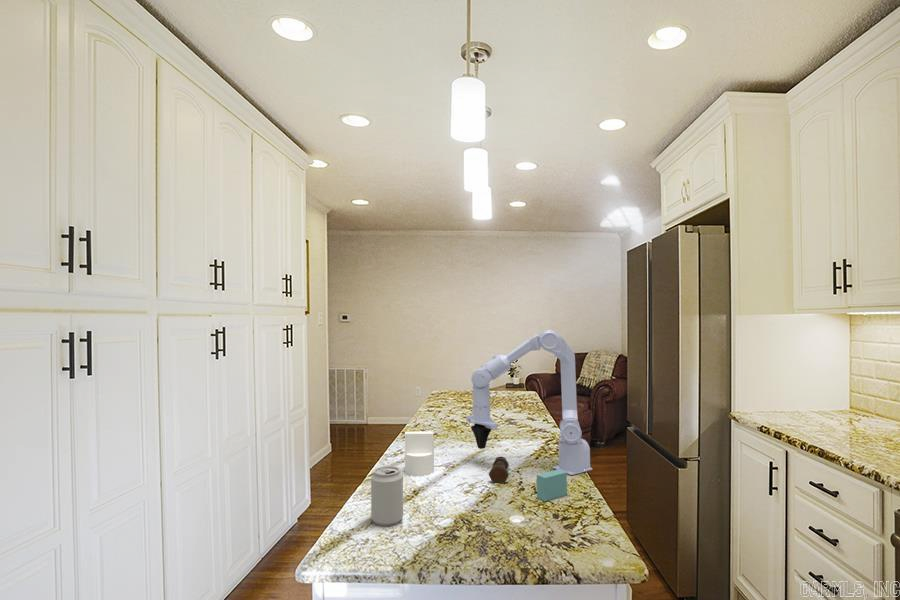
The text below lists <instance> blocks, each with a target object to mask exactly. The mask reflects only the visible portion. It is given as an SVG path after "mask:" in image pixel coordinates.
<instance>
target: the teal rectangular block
mask: <svg viewBox="0 0 900 600" xmlns="http://www.w3.org/2000/svg"><path fill="white" fill-rule="evenodd" d="M535 483H536V498H537V499H538V500H541V501H543V502H547V501H551V500H555V499H557V498H561V497H565V496H567V495H568V474H567V472H565V471H562V470H559V469H557V470H556V469H554V470H550V471H547V472H542V473H539V474H536V479H535Z"/></svg>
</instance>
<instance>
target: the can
mask: <svg viewBox="0 0 900 600" xmlns="http://www.w3.org/2000/svg"><path fill="white" fill-rule="evenodd" d="M370 480H371V481H370V485H371V486H370V491H371V492H370V494H371V495H370V496H371V497H370V499H371V500H370V502H371V504H370V510H371V511H370V513H371V514H370V515H371V516H370V517H371V520H372V521H373V522H374V523H375V524H376V525H378V526H382V527H389V526H393V525H396V524H398V523H400V521H401V520H402V519H403V517H404V476H403V473H401V469H400V468H399V467H398V466H396V465H395V466H393V465H383V466H379V467H376V468H375V469H373V474H372V475H371V476H370Z"/></svg>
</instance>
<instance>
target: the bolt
mask: <svg viewBox="0 0 900 600" xmlns="http://www.w3.org/2000/svg"><path fill="white" fill-rule="evenodd" d="M507 460H508V459H507V458H506V457H504V456H498V457H497V456H496V458H495V459H494V461H493V463H492V467H491V469H490V470H489V472H488V476H489V478H490V480H491V482H492V483H493V484H495V483H499V484H498V485H503V483H504V484H505V483H506V481H507V480H508V478H509V476H510V474H509V472H508V468H509V466H510V464H509V462H508V461H507Z"/></svg>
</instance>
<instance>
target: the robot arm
mask: <svg viewBox="0 0 900 600" xmlns="http://www.w3.org/2000/svg"><path fill="white" fill-rule="evenodd" d="M541 348H542V349H543V350H544V351H547V352H549V353H552V354H553V355H554V356H555V357H556V358H557V359H559V362H560V363H559V364H560V384H561V385H560V387H561V409H562V410H561V417H562V418H561V419H560V422H559V430H560V431H559V432H560V437H558V465H555V466H552V468H553V469H554V470H557V469H559V470H562V471H565V472H567V475H570V476H573V475H578V474H581V473H584V472H588V471H592V470H593V468H592V467H591V448H590V445H589V443H588V442H587V440H586V439H583V438H582V435H583V434H582V432H583V431H582V429H581V427H580V422H579V421H578V420H579V417H578V405H577V403H578V401H577V379H576V378H577V377H576V374H577V373H576V356H575V355H576V354H575V352H574V351H573V349H572V348H571V346H570V345H569V344H568V342H567V341H566V340H565V339H564V337H563V336H562V335H561V334H559V333H558V332H557V331H555V330H553V329H545V330H544V331H542V332H541V333H537V334H536V335H533V336H531V337H530V338H528V339H526V340H525V341H524V342H522V343H521V344H520V345H518V346H517V347H515V348H514V349H512V350H511V351H510V352H508V353H507V354H505V355H504V354H498V355H494V356H492V359H490V360H489V361H488V362H486V363H485V364H484V363H482V364H481V365H480V368H477V369H475V371H474V372H473V373H472V374H471V383H472V414H469V415H466V416H465V418H466V419H465V420H466V421H465V422H467V423H470V424H473V425H471V426H470V429H471V431H472V433H473V435H474V438H475V441H476V446H477V448H478V449H479V450H480V449H481V450H483V449H486V446H487V442H488V438H489V436H490V435H491V434H490V433H491V432H492V431H497V430H499V428H498V427H499V426H498V425H499V424H498V423H497V422H495V421H494V420H492V419H491V391H490V383H491V381H495V380H496V379H497V378H499V377H500V376H502V375H503V374H505V373H506V372H508V371H510V369H511V365H512V364H513V363H514V362H516V361H518V360H519V359H520V358H522V357H523V356H526V355H527V354H528V353H530V352H531V351H541ZM584 469H585V471H584Z"/></svg>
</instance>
